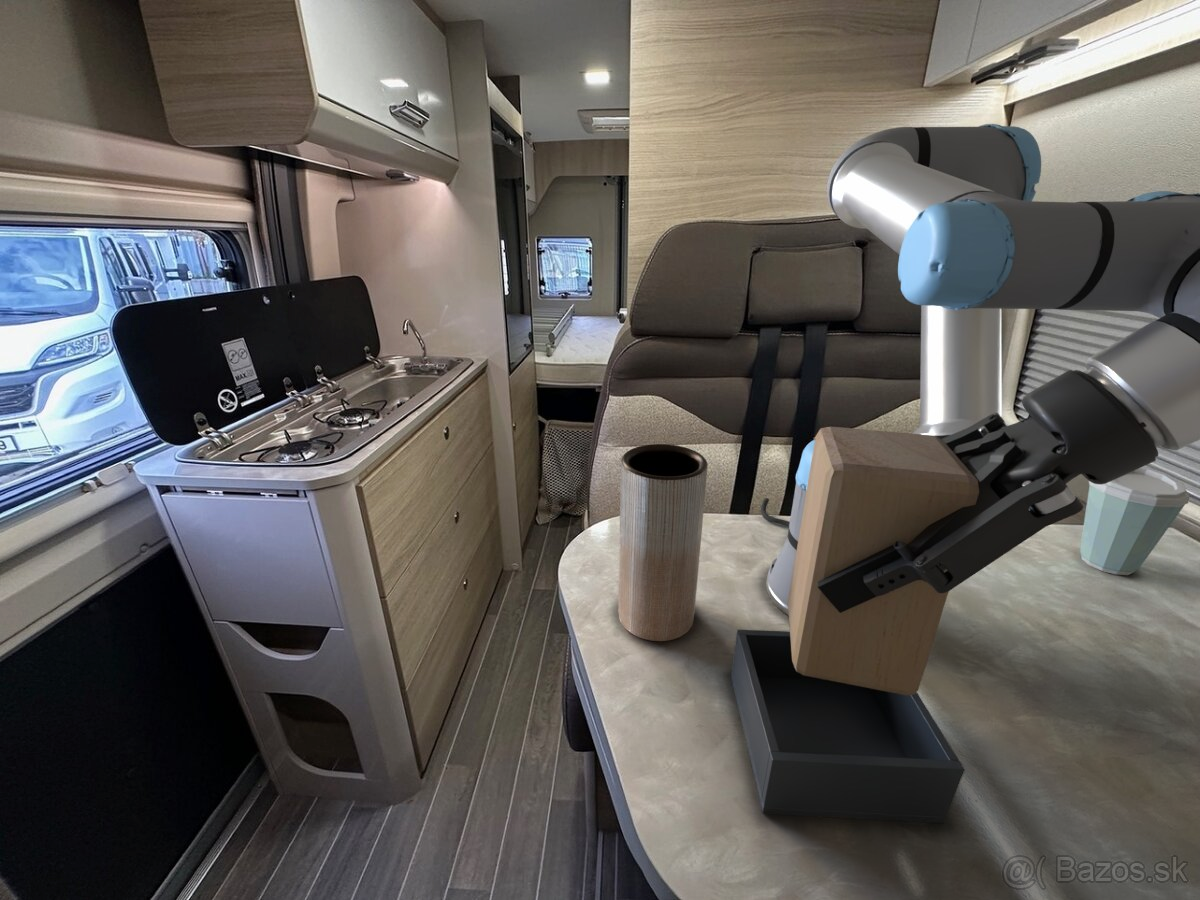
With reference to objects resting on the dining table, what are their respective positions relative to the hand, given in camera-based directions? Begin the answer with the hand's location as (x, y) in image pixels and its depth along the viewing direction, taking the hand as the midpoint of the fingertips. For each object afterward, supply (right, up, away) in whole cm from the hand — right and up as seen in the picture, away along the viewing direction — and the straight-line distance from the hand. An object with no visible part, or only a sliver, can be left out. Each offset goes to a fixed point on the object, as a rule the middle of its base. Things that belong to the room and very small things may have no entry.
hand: (827, 558), depth 46 cm
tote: (+3, -20, +7) cm, 21 cm away
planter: (-12, -13, +24) cm, 30 cm away
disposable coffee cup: (+58, -8, +36) cm, 69 cm away
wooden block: (+3, -9, +3) cm, 10 cm away
